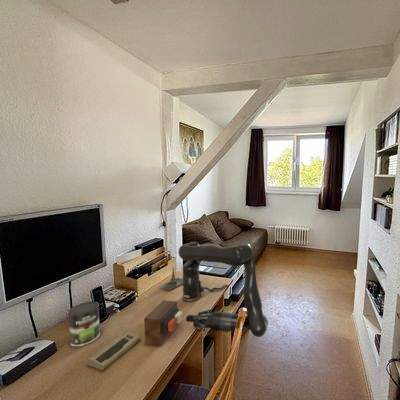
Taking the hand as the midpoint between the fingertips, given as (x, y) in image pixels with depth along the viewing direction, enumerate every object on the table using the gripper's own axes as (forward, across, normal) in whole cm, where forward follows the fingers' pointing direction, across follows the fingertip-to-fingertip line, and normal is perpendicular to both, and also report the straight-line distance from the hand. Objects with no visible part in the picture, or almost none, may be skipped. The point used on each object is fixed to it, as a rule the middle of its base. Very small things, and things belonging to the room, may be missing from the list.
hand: (186, 318), depth 101 cm
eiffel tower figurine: (+31, -42, +7) cm, 52 cm away
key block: (+11, +3, +7) cm, 13 cm away
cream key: (+4, 0, +2) cm, 4 cm away
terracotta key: (+4, +5, +2) cm, 7 cm away
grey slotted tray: (+23, +15, +7) cm, 29 cm away
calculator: (+53, -12, +7) cm, 55 cm away
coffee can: (+42, +10, +7) cm, 44 cm away
